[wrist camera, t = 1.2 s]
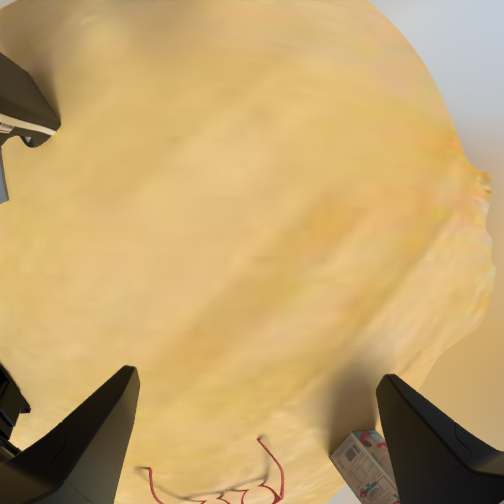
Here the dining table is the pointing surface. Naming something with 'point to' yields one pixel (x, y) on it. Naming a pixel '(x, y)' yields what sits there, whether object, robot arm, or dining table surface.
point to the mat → (2, 183)
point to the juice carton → (367, 467)
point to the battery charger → (23, 107)
